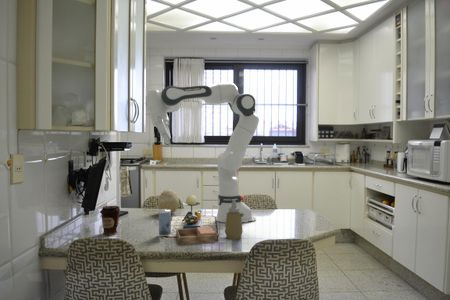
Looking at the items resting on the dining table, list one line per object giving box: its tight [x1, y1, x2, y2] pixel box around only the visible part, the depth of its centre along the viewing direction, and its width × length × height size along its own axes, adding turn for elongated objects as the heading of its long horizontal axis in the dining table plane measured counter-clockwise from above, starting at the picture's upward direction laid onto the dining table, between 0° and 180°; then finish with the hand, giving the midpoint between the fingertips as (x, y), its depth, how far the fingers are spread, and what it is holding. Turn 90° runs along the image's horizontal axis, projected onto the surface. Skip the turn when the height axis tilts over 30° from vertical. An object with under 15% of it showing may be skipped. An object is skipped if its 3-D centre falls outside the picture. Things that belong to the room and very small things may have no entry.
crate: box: [175, 226, 219, 245], centre depth 140 cm, size 17×13×4 cm
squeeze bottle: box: [224, 200, 244, 241], centre depth 141 cm, size 8×8×18 cm
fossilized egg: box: [157, 188, 180, 214], centre depth 189 cm, size 13×13×15 cm
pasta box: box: [196, 226, 216, 236], centre depth 141 cm, size 6×10×4 cm, turn 15°
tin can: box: [158, 209, 172, 238], centre depth 146 cm, size 6×6×12 cm
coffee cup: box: [100, 205, 121, 236], centre depth 148 cm, size 9×8×13 cm
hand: (168, 144), depth 163 cm, fingers open, 8 cm apart
